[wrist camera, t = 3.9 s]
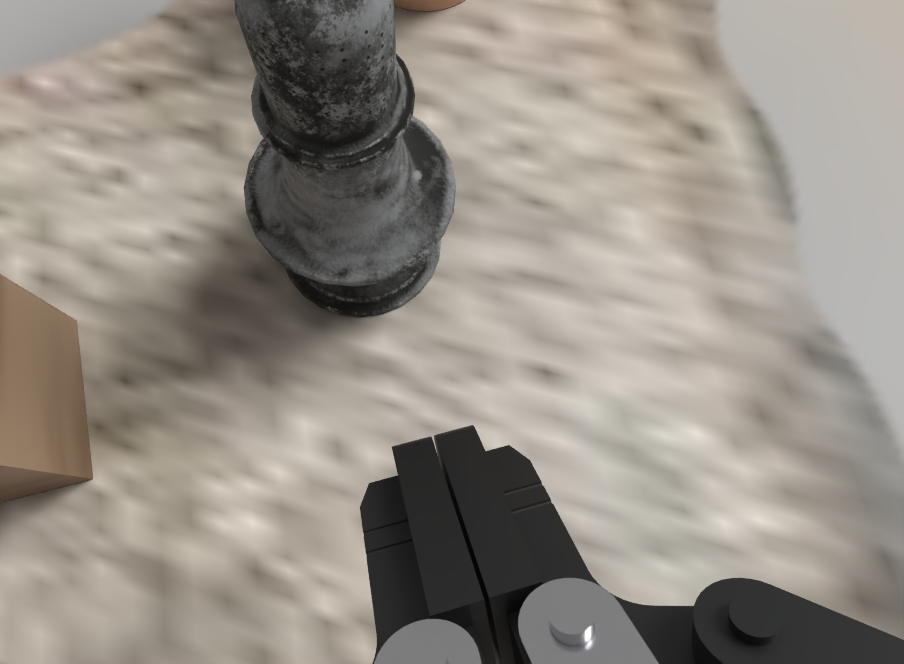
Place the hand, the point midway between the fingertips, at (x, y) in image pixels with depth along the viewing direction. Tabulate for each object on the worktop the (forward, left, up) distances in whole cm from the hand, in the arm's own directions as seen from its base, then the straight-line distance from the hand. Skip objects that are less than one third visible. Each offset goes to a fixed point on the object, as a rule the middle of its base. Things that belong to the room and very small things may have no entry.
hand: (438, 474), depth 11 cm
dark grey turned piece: (-2, +8, -8) cm, 12 cm away
